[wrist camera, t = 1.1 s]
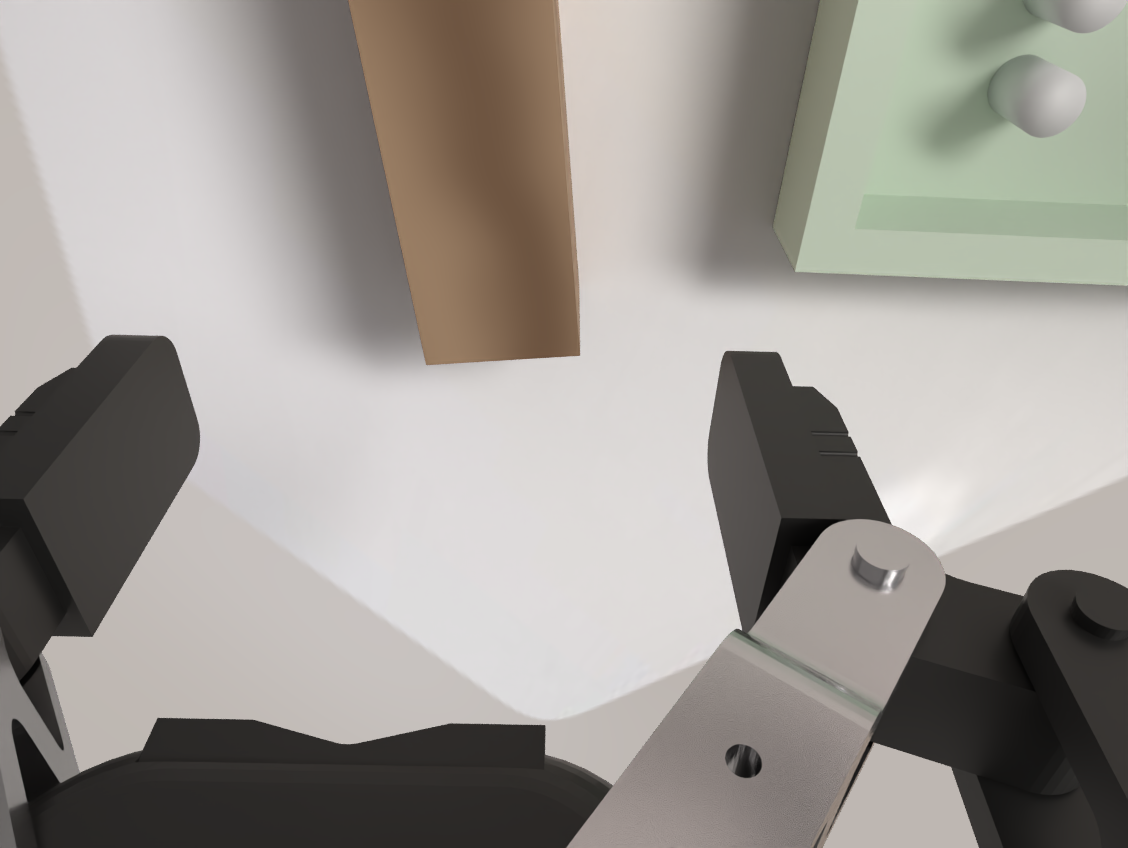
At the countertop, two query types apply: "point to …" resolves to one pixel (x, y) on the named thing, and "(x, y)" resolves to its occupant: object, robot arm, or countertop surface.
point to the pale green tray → (962, 142)
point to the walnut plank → (477, 171)
